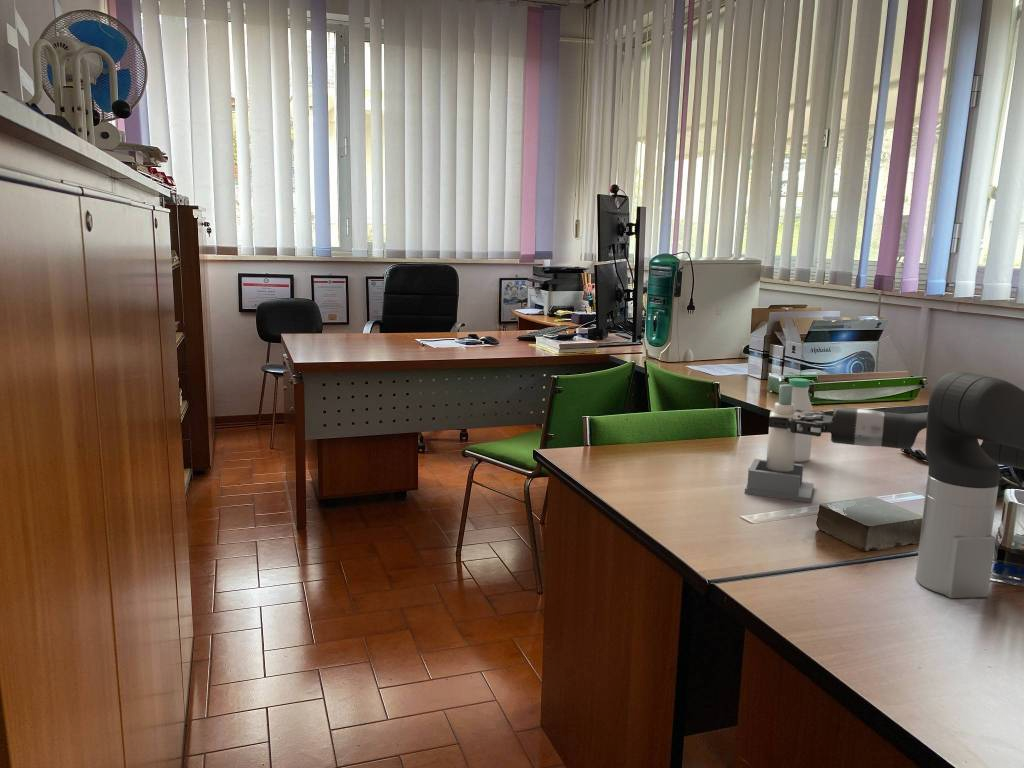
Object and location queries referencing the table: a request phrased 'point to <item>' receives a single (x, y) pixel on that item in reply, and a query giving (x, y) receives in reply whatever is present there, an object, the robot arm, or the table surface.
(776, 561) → the table surface
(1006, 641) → the table surface
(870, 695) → the table surface
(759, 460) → the box
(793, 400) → the milk bottle
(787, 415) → the plastic bottle
